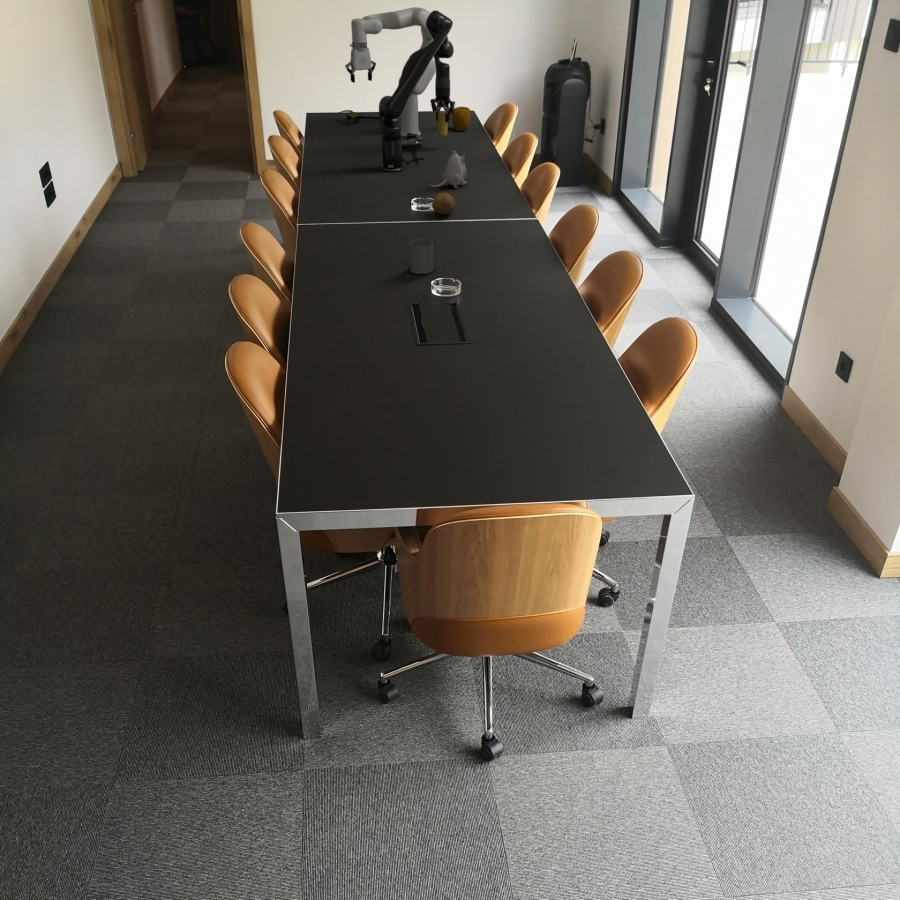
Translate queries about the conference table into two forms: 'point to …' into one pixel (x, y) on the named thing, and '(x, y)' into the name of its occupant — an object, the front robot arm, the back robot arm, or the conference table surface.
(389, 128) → the front robot arm
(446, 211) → the potato
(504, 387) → the conference table surface
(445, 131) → the can
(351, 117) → the scepter
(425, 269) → the cup
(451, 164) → the toy
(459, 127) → the yellow rounded blob
